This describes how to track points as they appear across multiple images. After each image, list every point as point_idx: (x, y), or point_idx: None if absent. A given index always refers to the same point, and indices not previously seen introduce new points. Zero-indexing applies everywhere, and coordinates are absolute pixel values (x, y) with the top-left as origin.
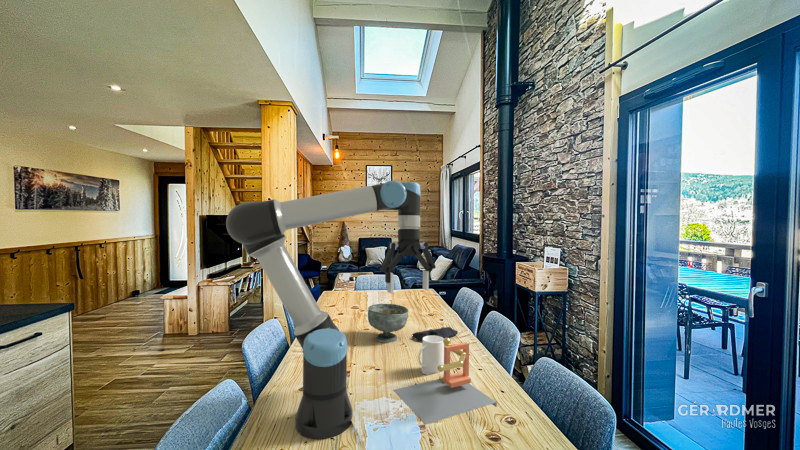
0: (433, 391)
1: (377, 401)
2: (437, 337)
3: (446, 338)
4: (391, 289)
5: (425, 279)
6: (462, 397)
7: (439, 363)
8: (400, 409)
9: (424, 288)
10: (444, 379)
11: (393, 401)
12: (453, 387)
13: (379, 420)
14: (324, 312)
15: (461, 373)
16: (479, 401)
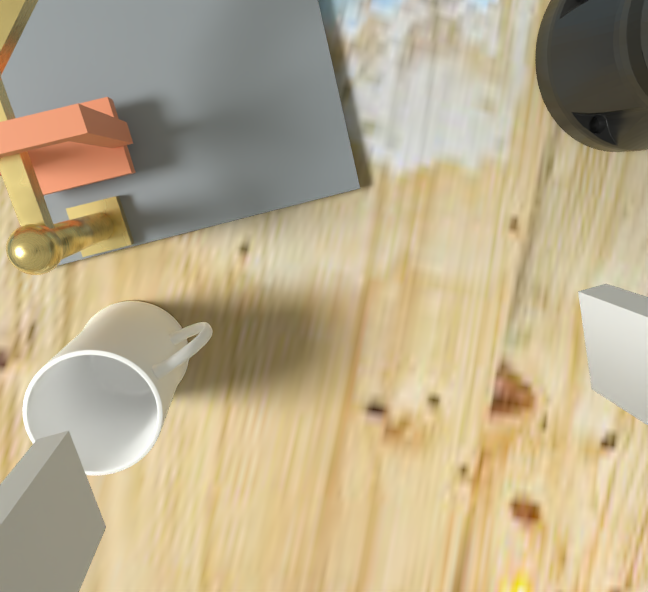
0: (193, 138)
1: (427, 143)
2: None
3: (32, 244)
4: (631, 297)
5: (21, 559)
6: (78, 59)
7: (102, 319)
8: (354, 64)
9: (85, 490)
10: (130, 137)
11: (368, 129)
12: None
13: (445, 9)
14: None
15: None
16: None
